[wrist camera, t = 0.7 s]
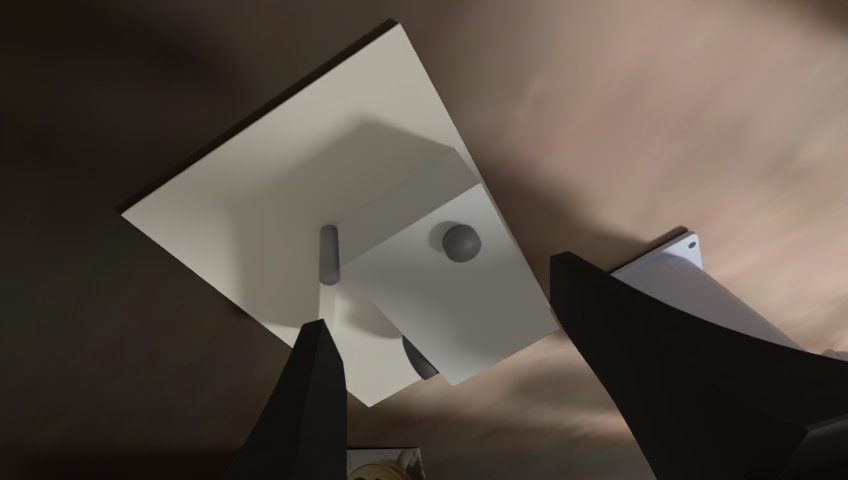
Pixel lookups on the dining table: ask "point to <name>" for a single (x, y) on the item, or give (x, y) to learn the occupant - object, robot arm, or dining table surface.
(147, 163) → the dining table surface
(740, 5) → the dining table surface
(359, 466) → the coffee box
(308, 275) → the mat
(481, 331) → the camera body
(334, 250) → the side door
